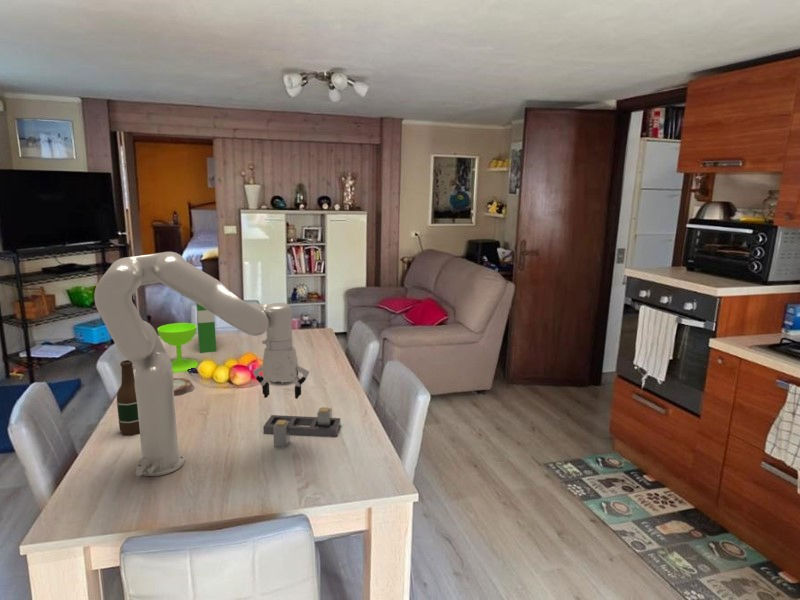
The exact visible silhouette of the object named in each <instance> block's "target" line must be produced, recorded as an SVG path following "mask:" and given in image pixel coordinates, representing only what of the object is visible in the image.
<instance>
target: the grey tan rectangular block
mask: <svg viewBox="0 0 800 600" xmlns="http://www.w3.org/2000/svg"><path fill="white" fill-rule="evenodd" d="M332 413H333V409H332V408H330V407H324V406H323V407H320V408H318V412H317V417H318V427H325V428H332V427H333V426H332V418H333V414H332Z"/></svg>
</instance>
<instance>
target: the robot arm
mask: <svg viewBox="0 0 800 600" xmlns="http://www.w3.org/2000/svg"><path fill="white" fill-rule="evenodd" d="M157 283H161V284H162V285H164V286H166V287H167V288H169V289H171V290H172V291H174V292H176V293H178V294H179V295H181V296H183V297H185V298H187V299H188V300H190V301H192V302H193V303H195V304H196V303H197V304H199V305H200V306H202V307H204V308H205V309H206V310H208V311H209V312H211V313H213V314H214V316H216V317H217V318H219V319H221V320H222V321H224V322H225V323H227V324H229V325H230V326H232V327H234V328H235V329H237V330H239V331H241V332H242V333H244V334H246V335H248V336H252V337H258V336H261V335H263V334H264V333H266V338H265V339H262V341H261V342H262V345H265V346H266V347H265V348H264V351H263V357H262V365H260V366H259V367H257V368H255V369H254V370H253V371H252V374H253V375H254V377H255V379H256V381H258V382H259V384H260V386H261V389H262V394H263V397H264V398H268V396H270V383H269V382H274V383H275V382H276V383H277V382H280V383H282V382H283V383H292V382H293V384H294V385H295V386H294V398H295V399H296V400H298V398H299V397H300V396H301V395H302V385H303V383H305V381H306V380H307V378H308V376H309V374H310V371H309V370H308V369H305V368H304V367H302V366H299V362H298V357H297V351H296V348H295V346H293V326H292V325H293V323H292V307H291V305H290V304H288V303H285V302H274V303H273V302H272V303H270V304H266V303H264V304H263V303H262V304H261V303H247V301H246V302H245V301H244V300H242V298H239V296H237V295H235V294H234V293H233V292H232V291H231V290H230V289H229V288H227V286H225V284H223V283H222V282H221V281H219V280H218V279H216V278H215V277H213V276H212V275H210V274H208V273H206V272H204V271H203V270H202V269H200V268H198V267H196V266H195V265H193V264H191V263H190V262H188V261H187V260H185V258H184V257H183V256H182V255H180V254H179V253H177V252H174V251H164V252H156V253H149V254H143V255H135V256H128V257H121V258H119V259H117V260H115V261H114V262H113V263H111V265H110V267H108V269H107V270H106V271H105V272H104V274H103V275H102V276H101V278H100V279H99V281H98V283H97V284H96V287H95V288H94V289H95V290H94V304H95V307H96V309H97V312H98V314H99V316H100V318H101V319H102V321H103V323H104V325H105V328H106V329H107V331H108V333H109V335H110V337H111V338H112V340H113V342H114V344H115V346H116V348H117V350H118V352H119V353H120V356H121V357H123V358H124V359H126V360H129V361H131V362H132V363H133V365H132V366H133V367H134V369H135V374H134V379H135V392H136V399H137V408H138V418H139V428H140V433H139V437H140V447H141V459H140V460H139V461H138V463H137V464H136V470H135V475H136V476H138V477H141V476H144V477H145V476H146V477H159V476H164V475H167V474H168V475H169V474H171V473H174V472H176V471H177V470H179V469H180V468H182V466H183V465H184V464H185V456H184V454H183V453H182V452H179V444H178V443H179V442H178V432H177V431H178V430H177V417H176V405H175V396H174V383H173V378H174V373H173V370H172V363H171V361H172V360H171V357H170V356H169V354H168V352H167V350H166V349H165V347H164V344H163V342H162V340H161V338H160V336H159V334H158V332H157V331H156V329H155V328H154V327H153V325H151V323H149V322H148V321H146V320H143V319H142V317H141V314H140V312H139V310H138V309H137V307H136V306H135V304H134V302H133V294H134V293H135V292H136V291H137V290H138V289H139V288H140V286H147V285H151V284H152V285H153V284H157ZM261 372H262V375H261V374H260V373H261ZM299 373H300V374H302V377H299Z"/></svg>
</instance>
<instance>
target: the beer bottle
mask: <svg viewBox="0 0 800 600" xmlns="http://www.w3.org/2000/svg"><path fill="white" fill-rule="evenodd" d="M120 367H121V368H120V369H121V383H120V384H121V385H120V387H119V388H118V390H117V392H116V406H117V416H118V417H117V418H118V426H119V432H120V433H121V435H122V436H135V435H138V434H139V435H140V428H139V418H138V408H137V399H136V392H135V374H134V368H133V367H134V365H133V363H132V362H131V361H129V360H127V359H126V360H122V361H121V362H120Z"/></svg>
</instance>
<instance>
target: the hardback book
mask: <svg viewBox="0 0 800 600" xmlns="http://www.w3.org/2000/svg"><path fill="white" fill-rule="evenodd" d="M195 305H196V320H197V322H196V323H197V325H196V326H197V337H198V347H199V349H198V350H199V354H204V353H216V352H217V341H216V339H217V338H216V336H217V335H216V323H215V315H214V314H213V313H211V312H209V311H208V310H206V309H205V308H204V307H202V306H200V305H199V304H197V303H195Z"/></svg>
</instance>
